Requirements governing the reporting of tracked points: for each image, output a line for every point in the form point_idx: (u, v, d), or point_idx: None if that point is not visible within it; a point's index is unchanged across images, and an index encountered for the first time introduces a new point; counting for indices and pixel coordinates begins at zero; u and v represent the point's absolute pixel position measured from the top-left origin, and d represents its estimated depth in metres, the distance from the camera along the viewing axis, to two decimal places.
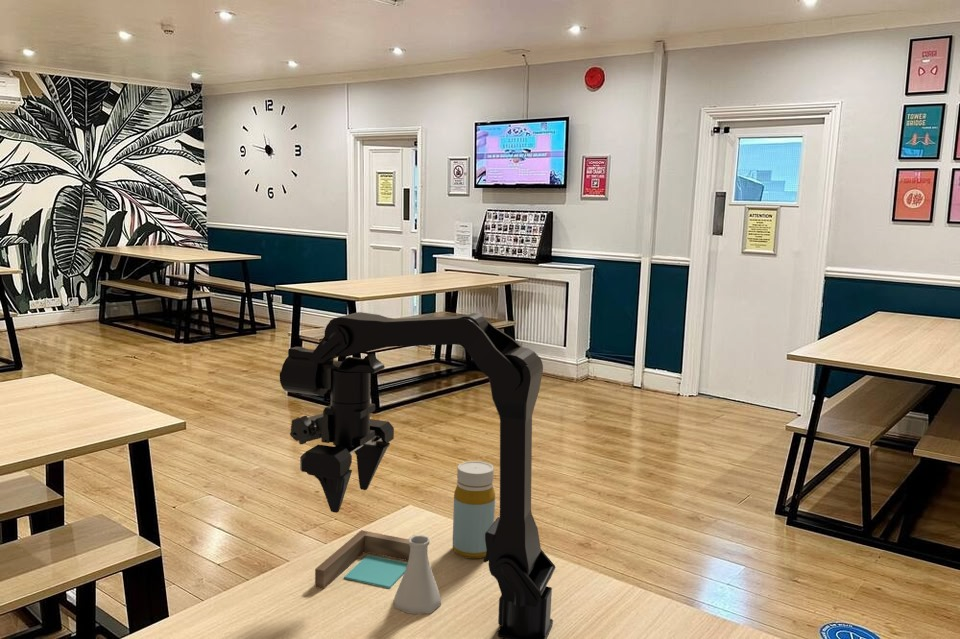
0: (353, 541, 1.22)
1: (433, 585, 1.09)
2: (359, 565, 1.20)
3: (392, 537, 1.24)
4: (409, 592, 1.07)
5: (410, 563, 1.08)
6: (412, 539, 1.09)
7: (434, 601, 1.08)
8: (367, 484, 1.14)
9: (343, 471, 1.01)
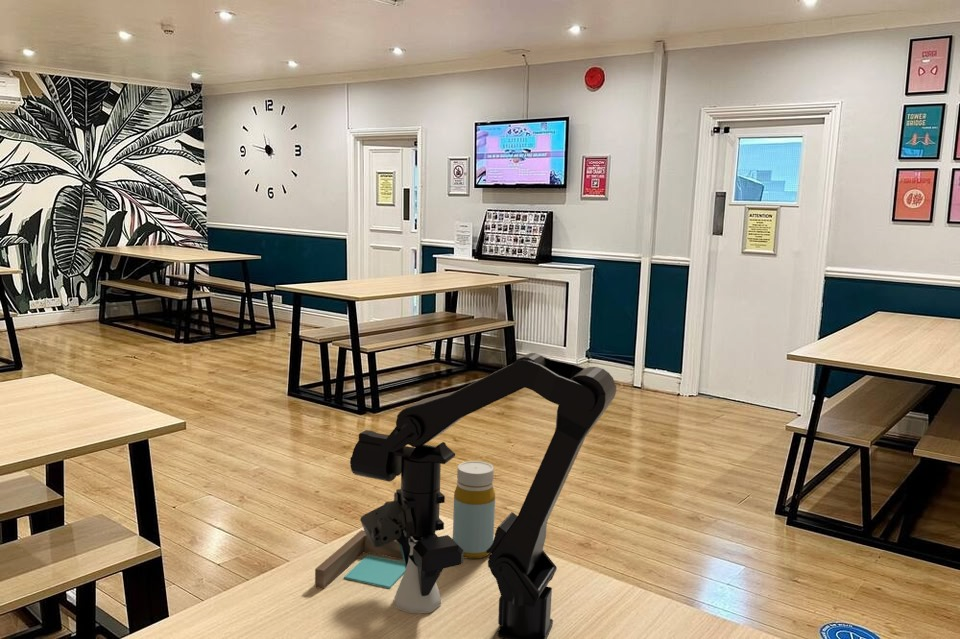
0: (353, 541, 1.22)
1: None
2: (359, 565, 1.20)
3: None
4: (409, 591, 1.07)
5: (410, 563, 1.08)
6: (412, 539, 1.09)
7: (434, 600, 1.08)
8: None
9: None
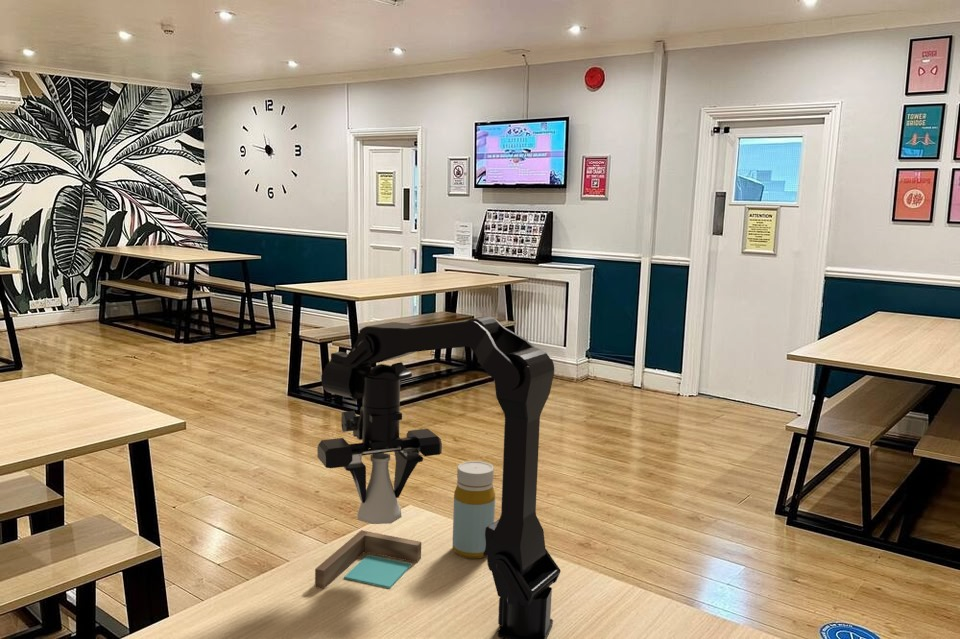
0: (353, 541, 1.22)
1: (372, 502, 1.14)
2: (359, 565, 1.20)
3: (392, 537, 1.24)
4: None
5: None
6: (384, 455, 1.16)
7: (367, 515, 1.14)
8: (397, 492, 1.17)
9: (336, 465, 1.09)
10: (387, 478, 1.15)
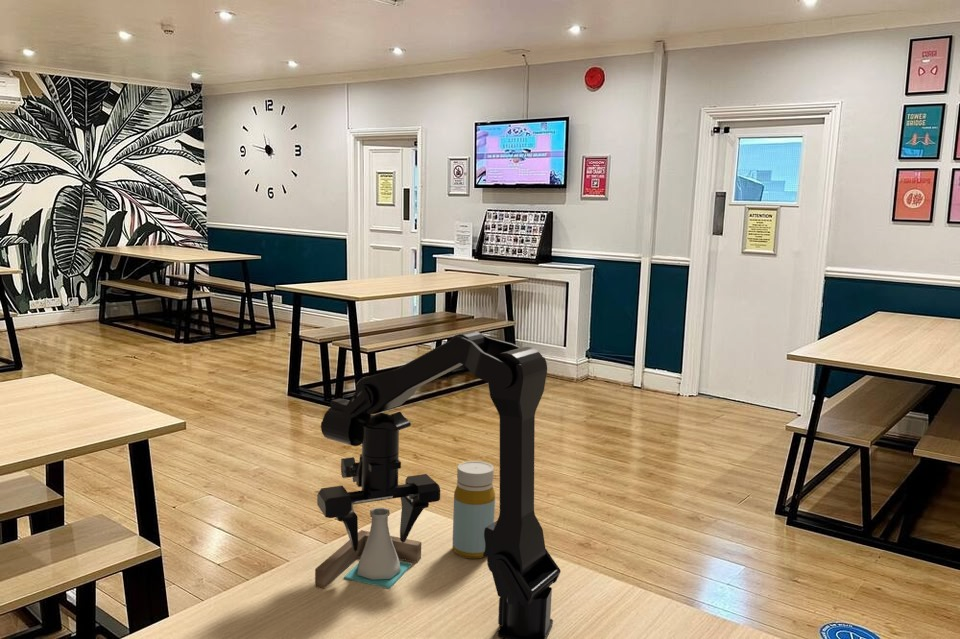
0: None
1: (372, 557, 1.16)
2: None
3: (392, 537, 1.24)
4: None
5: None
6: (384, 510, 1.18)
7: (366, 570, 1.15)
8: (403, 537, 1.19)
9: (336, 515, 1.10)
10: (386, 533, 1.17)
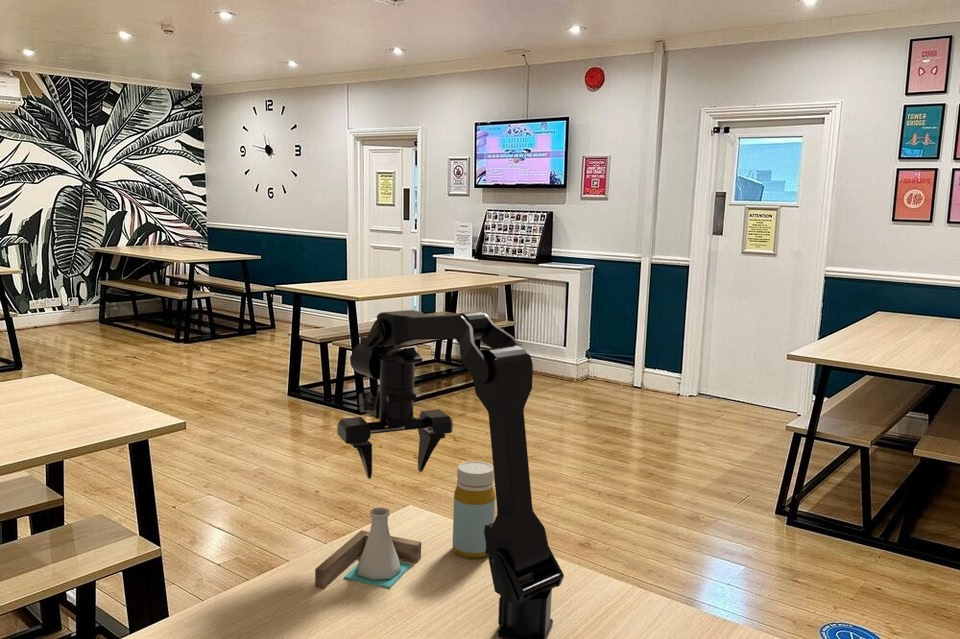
0: (353, 541, 1.22)
1: (372, 557, 1.16)
2: None
3: (392, 537, 1.24)
4: None
5: None
6: (384, 510, 1.18)
7: (366, 570, 1.15)
8: (420, 467, 1.26)
9: (356, 441, 1.18)
10: (386, 533, 1.17)
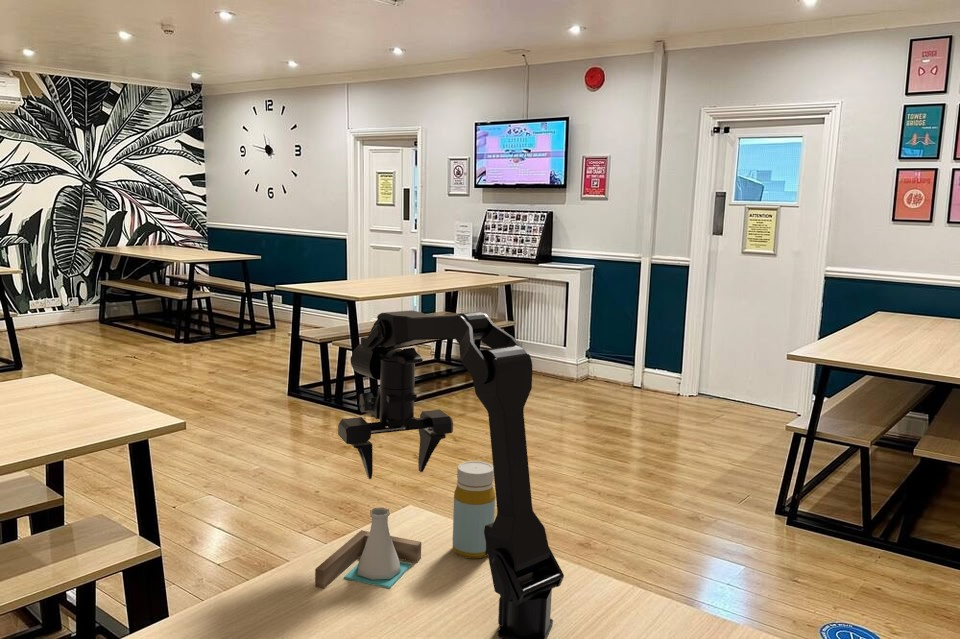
0: (353, 541, 1.22)
1: (372, 557, 1.16)
2: None
3: (392, 537, 1.24)
4: None
5: None
6: (384, 510, 1.18)
7: (366, 570, 1.15)
8: (421, 467, 1.27)
9: (356, 442, 1.18)
10: (386, 533, 1.17)
